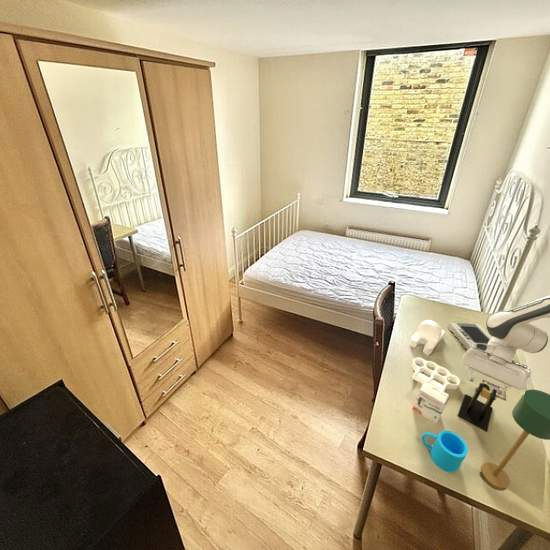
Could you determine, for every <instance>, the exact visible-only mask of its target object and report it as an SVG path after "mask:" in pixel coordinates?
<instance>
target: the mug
mask: <svg viewBox="0 0 550 550" xmlns="http://www.w3.org/2000/svg"><path fill="white" fill-rule="evenodd" d="M426 437H431V438H435V439H434V442H433V445H431V444H430V443H428V442H427V440H426V439H425V438H426ZM420 438H421V442H422V443H423V445H424V446H425V447H426V448H427V449H428V450H430V452H429V453H430V454H429V455H430V458H431V460H432V462H433V463H434V465H436V466H437V467H438V468H439V469H441V470H442V471H444V472H447V473H455V472H457V471H458V470H459V469H460V467H461V465H462V463H463V462H464V460H465V459H466V457H467V455H468V452H469V447H468V444H467V443H466V441H465V439H463V438H462V437H461V435H459V434H457V433H456V432H453V431H452V430H451V431H450V430H441V431H439V433H438V434H437V433H433V432H428V431H427V432H423V433H422V434H421V436H420Z"/></svg>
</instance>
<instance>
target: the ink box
mask: <svg viewBox="0 0 550 550" xmlns="http://www.w3.org/2000/svg"><path fill="white" fill-rule="evenodd" d="M450 396H451V395H449V393H447V392H445V391H444V392H443V391H441V390H439V389H438V388H436V387H434V386H432V385H430V384H429V383H426V382H424V383H423V384H421V386H420V388H419V391H418V394H417V396H416V398H415V401H414V403H413V406H412V410H413V411H415V412H417V413H418V414H420V415H421V416H423V417H424V418H426V419H428V420H429V421H431V422H433V423H434V424H437V423H438V422H439V420H440V418H441V416H442V414H443V413H444V410H445V408H446V406H447V404H448V402H449V399H450Z"/></svg>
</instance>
